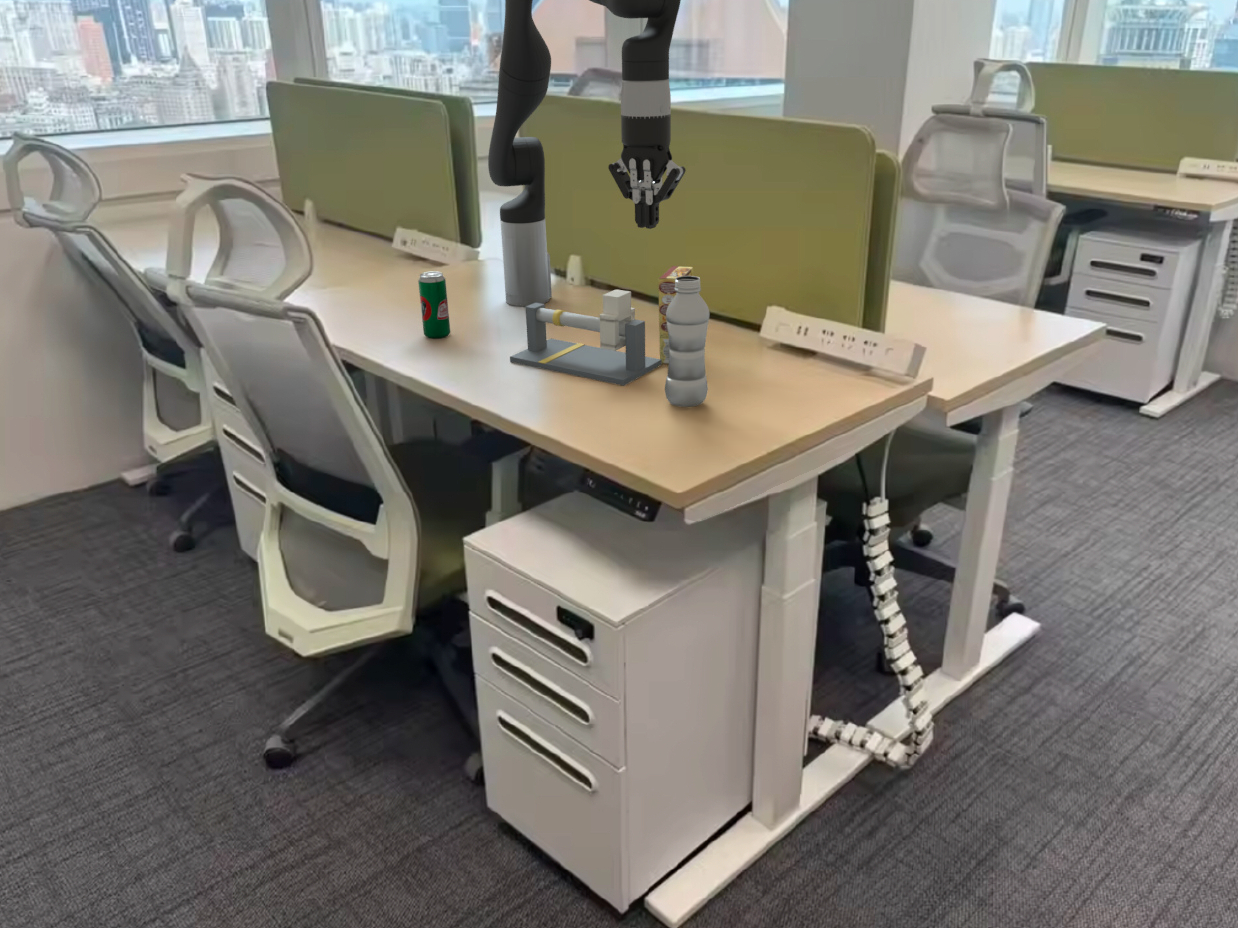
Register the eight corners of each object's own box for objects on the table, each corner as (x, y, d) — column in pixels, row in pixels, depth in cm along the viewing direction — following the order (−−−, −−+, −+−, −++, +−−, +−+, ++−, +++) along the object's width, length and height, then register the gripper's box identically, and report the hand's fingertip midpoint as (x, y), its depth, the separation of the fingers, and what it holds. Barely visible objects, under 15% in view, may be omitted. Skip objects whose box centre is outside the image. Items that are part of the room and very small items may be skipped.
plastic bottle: (662, 398, 160) (662, 274, 151) (704, 396, 160) (706, 272, 152) (667, 413, 154) (667, 285, 145) (711, 410, 154) (713, 283, 146)
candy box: (681, 366, 173) (682, 279, 167) (658, 364, 175) (657, 277, 168) (693, 350, 181) (694, 266, 175) (671, 348, 182) (671, 265, 176)
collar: (620, 338, 173) (619, 287, 169) (635, 341, 172) (634, 290, 168) (600, 348, 169) (598, 296, 165) (615, 351, 167) (614, 299, 163)
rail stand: (551, 343, 186) (548, 296, 182) (661, 365, 174) (661, 314, 170) (510, 362, 177) (506, 312, 173) (623, 385, 165) (622, 333, 161)
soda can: (445, 340, 189) (439, 278, 184) (420, 339, 190) (413, 277, 185) (454, 332, 194) (448, 271, 189) (429, 331, 195) (423, 270, 190)
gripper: (697, 111, 151) (695, 227, 158) (622, 108, 157) (624, 219, 165) (671, 116, 145) (671, 236, 152) (595, 112, 152) (598, 227, 159)
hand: (646, 227), depth 158 cm, fingers closed
